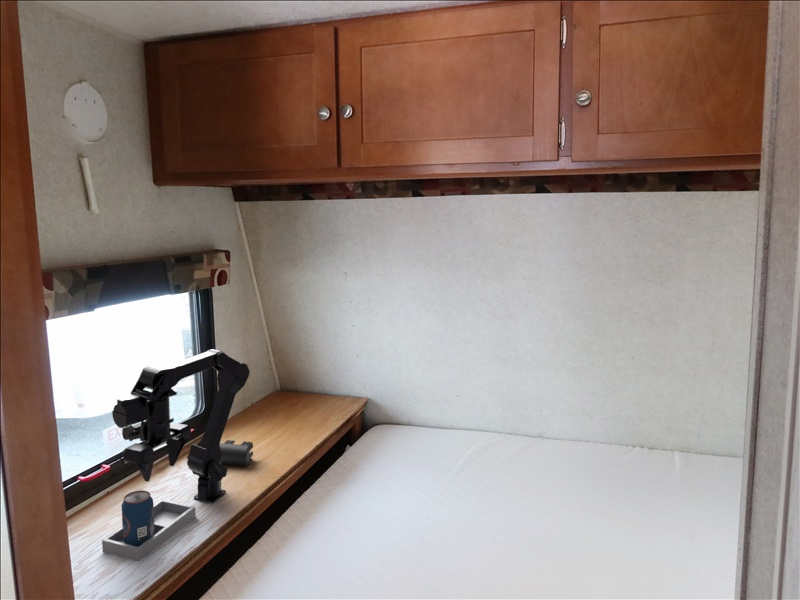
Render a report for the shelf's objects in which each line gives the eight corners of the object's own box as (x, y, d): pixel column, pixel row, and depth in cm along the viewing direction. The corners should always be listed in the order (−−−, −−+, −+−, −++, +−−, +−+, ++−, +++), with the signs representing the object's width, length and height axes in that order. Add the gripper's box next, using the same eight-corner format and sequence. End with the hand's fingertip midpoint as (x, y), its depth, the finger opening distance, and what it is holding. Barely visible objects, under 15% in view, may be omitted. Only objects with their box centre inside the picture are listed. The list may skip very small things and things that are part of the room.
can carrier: (162, 509, 157) (161, 499, 156) (195, 517, 154) (195, 506, 153) (102, 551, 138) (102, 540, 137) (139, 561, 135) (138, 549, 134)
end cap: (215, 467, 182) (214, 447, 181) (224, 457, 189) (224, 437, 188) (246, 470, 181) (245, 449, 180) (254, 460, 188) (254, 440, 187)
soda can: (120, 539, 142) (118, 494, 140) (150, 531, 146) (148, 486, 144) (127, 554, 136) (124, 506, 134) (158, 544, 140) (156, 498, 138)
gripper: (157, 399, 158) (159, 453, 161) (103, 423, 141) (106, 484, 143) (191, 405, 155) (193, 460, 158) (140, 430, 137) (143, 492, 140)
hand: (159, 473), depth 150 cm, fingers open, 9 cm apart
